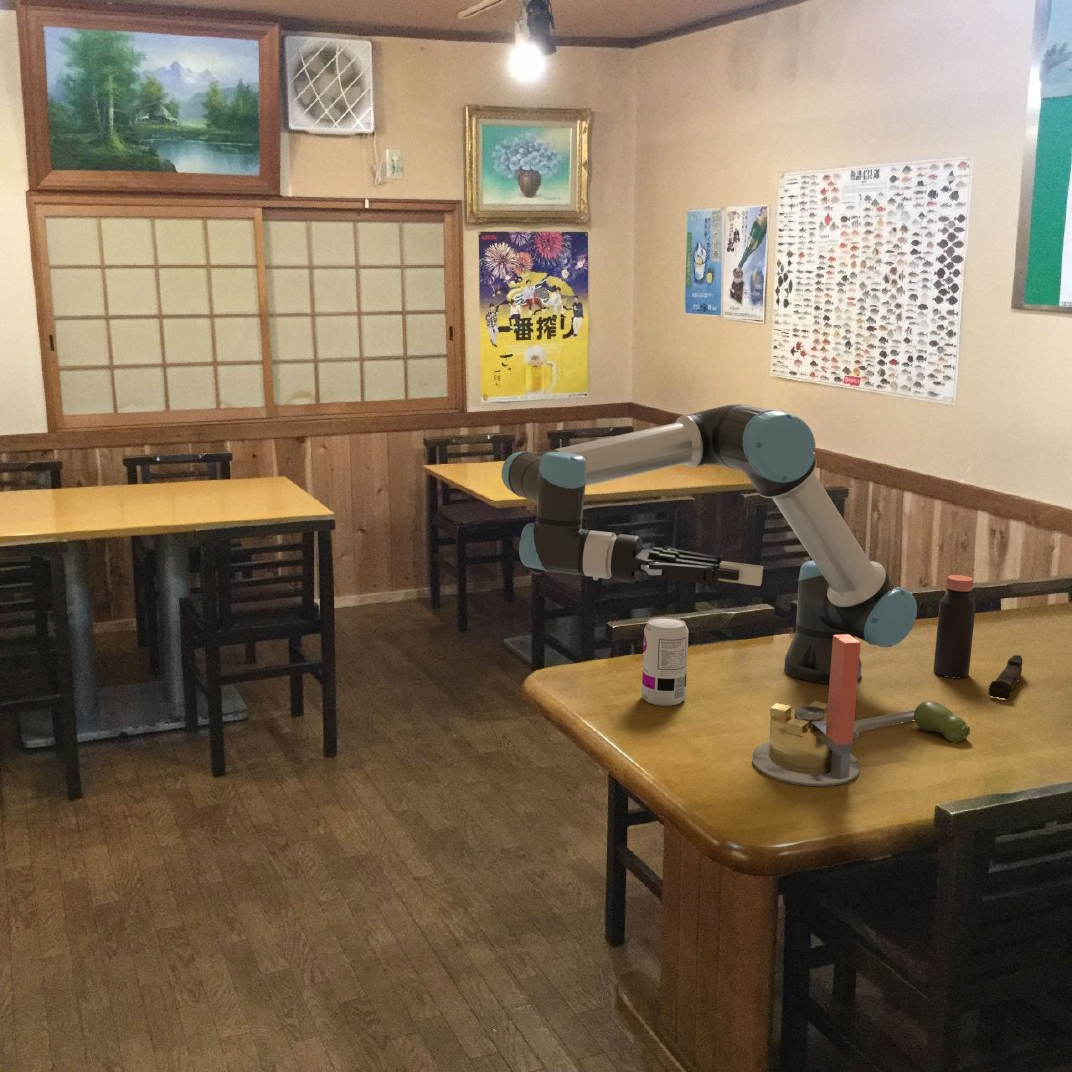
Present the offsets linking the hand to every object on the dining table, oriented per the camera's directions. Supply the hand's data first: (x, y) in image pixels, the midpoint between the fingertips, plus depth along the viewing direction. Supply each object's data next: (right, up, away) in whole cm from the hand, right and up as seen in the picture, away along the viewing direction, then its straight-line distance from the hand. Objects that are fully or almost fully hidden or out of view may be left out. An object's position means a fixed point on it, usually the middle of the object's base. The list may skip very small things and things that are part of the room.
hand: (761, 576), depth 182 cm
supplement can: (-11, -25, +38) cm, 46 cm away
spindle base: (+9, -31, +9) cm, 33 cm away
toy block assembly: (+9, -31, +5) cm, 32 cm away
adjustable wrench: (+25, -28, +26) cm, 46 cm away
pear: (+36, -29, +23) cm, 52 cm away
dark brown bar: (+57, -24, +49) cm, 79 cm away
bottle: (+49, -22, +55) cm, 77 cm away
